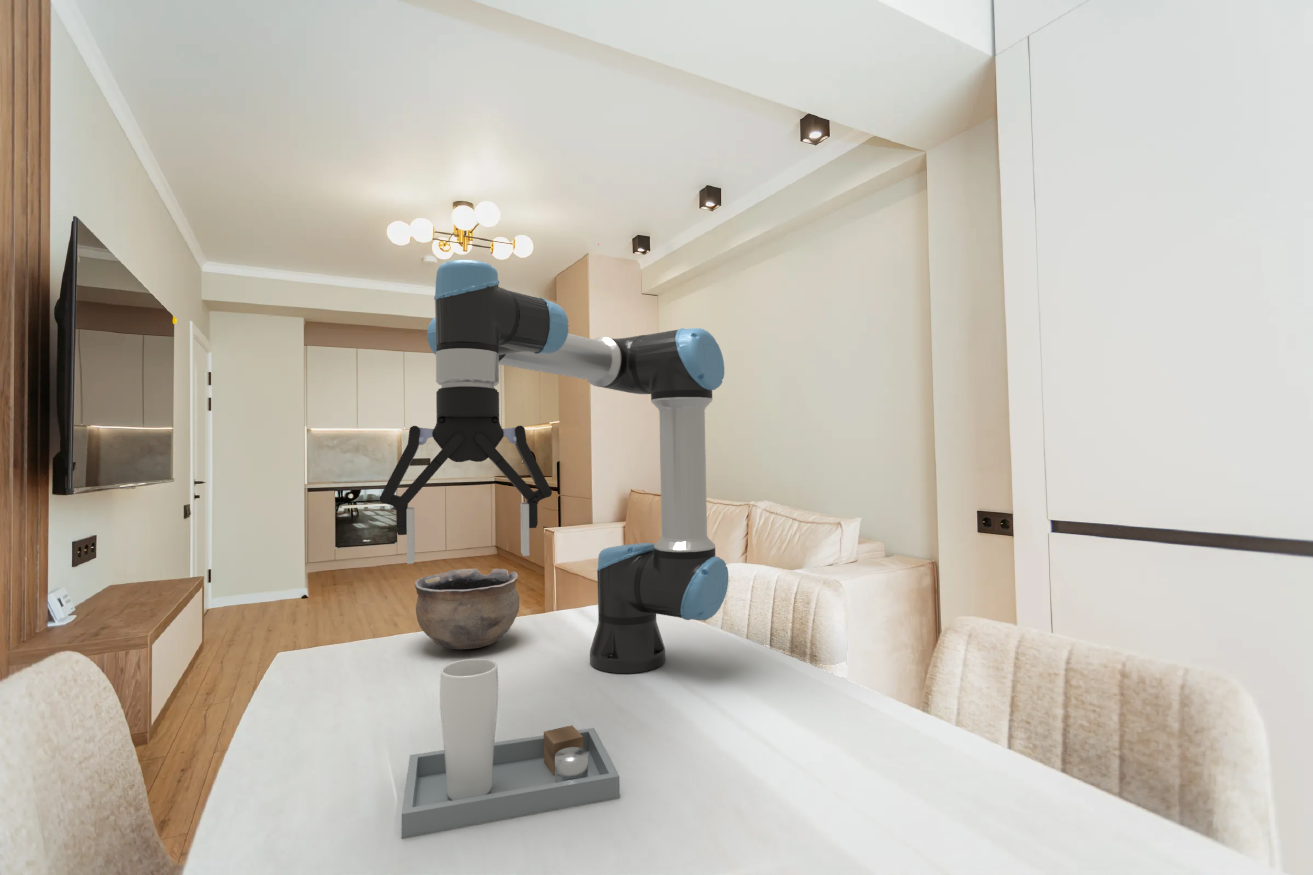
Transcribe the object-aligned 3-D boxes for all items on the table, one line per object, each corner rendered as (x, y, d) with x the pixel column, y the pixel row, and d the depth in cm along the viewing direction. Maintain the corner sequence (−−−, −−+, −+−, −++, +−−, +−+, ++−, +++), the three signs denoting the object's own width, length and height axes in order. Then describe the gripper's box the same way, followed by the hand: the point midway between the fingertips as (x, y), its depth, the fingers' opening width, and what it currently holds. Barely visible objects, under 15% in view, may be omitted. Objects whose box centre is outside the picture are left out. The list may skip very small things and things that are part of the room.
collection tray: (594, 749, 87) (594, 727, 88) (619, 802, 74) (619, 775, 74) (410, 779, 80) (410, 754, 80) (401, 843, 67) (401, 813, 67)
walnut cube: (572, 754, 85) (572, 725, 85) (583, 767, 81) (583, 736, 81) (543, 762, 83) (543, 731, 83) (553, 775, 79) (553, 743, 80)
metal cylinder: (584, 777, 79) (584, 744, 79) (591, 793, 75) (590, 759, 75) (552, 782, 78) (552, 749, 78) (557, 799, 74) (557, 764, 74)
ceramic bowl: (538, 636, 144) (538, 570, 144) (482, 666, 123) (482, 589, 123) (457, 628, 151) (457, 565, 151) (391, 656, 130) (391, 583, 131)
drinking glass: (482, 810, 72) (482, 678, 72) (428, 804, 73) (428, 674, 73) (507, 780, 78) (507, 659, 79) (458, 775, 80) (458, 656, 80)
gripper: (562, 392, 86) (564, 547, 85) (362, 388, 78) (363, 560, 77) (572, 386, 79) (574, 555, 78) (354, 382, 71) (354, 570, 70)
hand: (469, 558), depth 78 cm, fingers open, 13 cm apart
